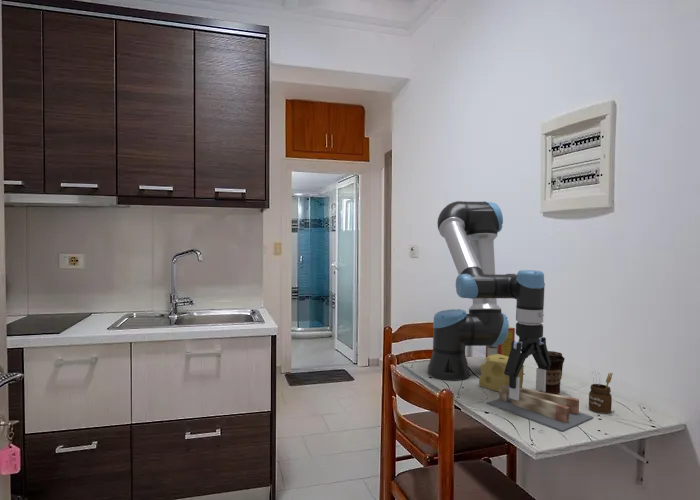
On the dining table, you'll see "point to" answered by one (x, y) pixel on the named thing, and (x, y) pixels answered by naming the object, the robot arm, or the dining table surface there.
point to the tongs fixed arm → (536, 404)
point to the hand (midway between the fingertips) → (527, 394)
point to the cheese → (496, 372)
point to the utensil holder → (600, 396)
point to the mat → (541, 416)
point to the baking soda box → (502, 345)
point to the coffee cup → (554, 373)
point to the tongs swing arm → (555, 399)
